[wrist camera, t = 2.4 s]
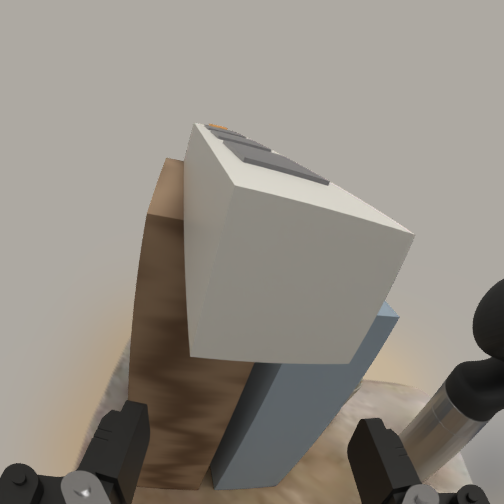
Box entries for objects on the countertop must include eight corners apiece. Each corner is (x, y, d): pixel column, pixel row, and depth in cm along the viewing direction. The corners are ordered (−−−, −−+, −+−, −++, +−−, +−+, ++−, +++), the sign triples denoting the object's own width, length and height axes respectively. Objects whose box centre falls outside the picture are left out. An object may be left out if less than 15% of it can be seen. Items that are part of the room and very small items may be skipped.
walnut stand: (186, 389, 44) (243, 174, 32) (197, 489, 29) (301, 243, 17) (133, 382, 41) (166, 157, 29) (129, 485, 26) (147, 213, 14)
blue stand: (249, 392, 46) (316, 229, 36) (276, 485, 32) (399, 316, 21) (199, 390, 44) (251, 214, 34) (214, 489, 29) (307, 308, 19)
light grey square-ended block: (226, 170, 31) (238, 130, 29) (348, 363, 8) (419, 225, 7) (183, 161, 30) (194, 119, 28) (189, 356, 7) (238, 171, 5)
